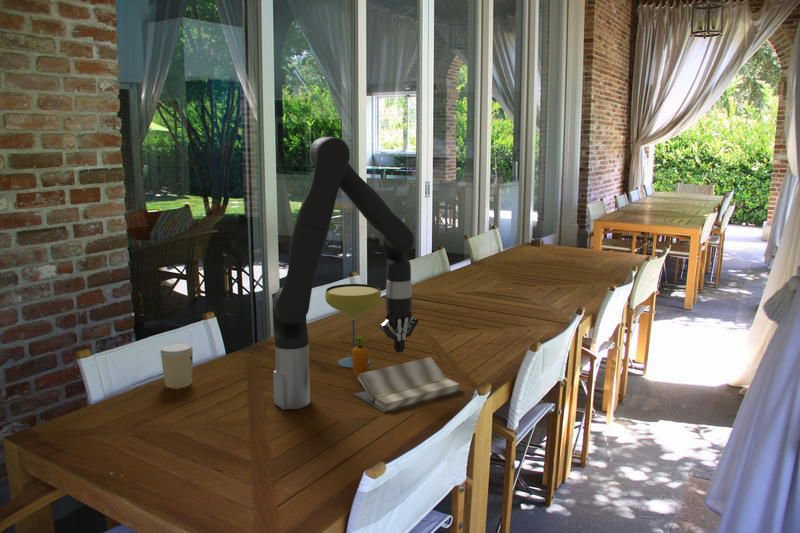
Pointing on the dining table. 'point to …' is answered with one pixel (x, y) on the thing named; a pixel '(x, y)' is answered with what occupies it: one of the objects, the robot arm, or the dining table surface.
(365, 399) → the floor base
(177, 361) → the coffee cup
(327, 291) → the cocktail glass
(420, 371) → the board
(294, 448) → the dining table surface
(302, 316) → the robot arm
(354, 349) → the carrot
